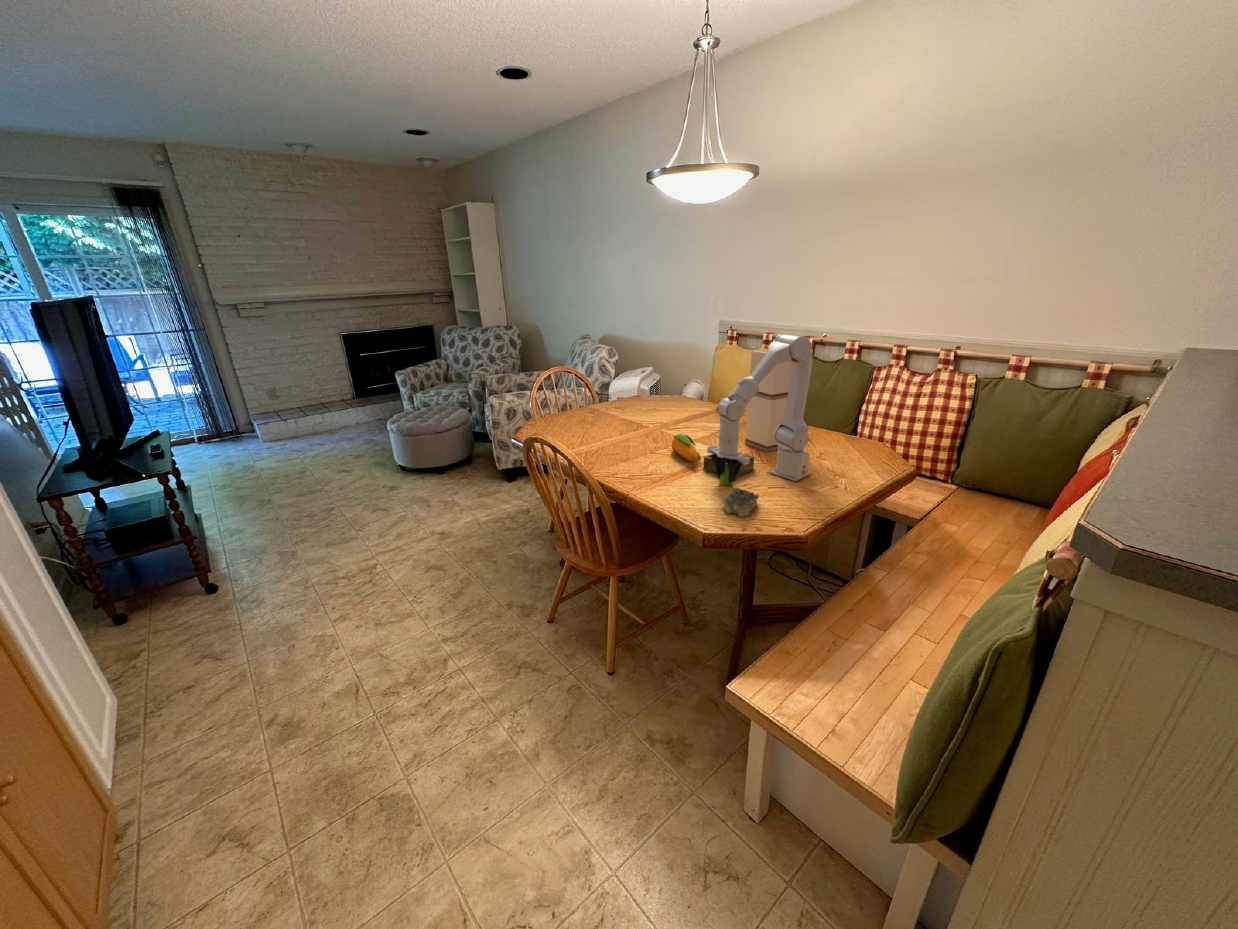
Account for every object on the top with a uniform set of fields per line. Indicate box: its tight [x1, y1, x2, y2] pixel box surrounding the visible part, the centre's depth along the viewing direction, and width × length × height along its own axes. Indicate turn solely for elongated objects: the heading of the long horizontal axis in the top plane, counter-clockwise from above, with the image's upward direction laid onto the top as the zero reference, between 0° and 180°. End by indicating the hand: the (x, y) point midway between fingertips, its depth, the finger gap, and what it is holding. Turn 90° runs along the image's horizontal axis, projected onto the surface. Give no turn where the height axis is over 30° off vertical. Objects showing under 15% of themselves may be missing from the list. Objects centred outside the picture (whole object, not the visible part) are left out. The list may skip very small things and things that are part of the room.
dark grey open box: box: [703, 452, 755, 478], centre depth 158 cm, size 12×12×5 cm
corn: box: [671, 433, 702, 462], centre depth 169 cm, size 7×8×20 cm
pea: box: [719, 472, 731, 486], centre depth 147 cm, size 4×4×4 cm
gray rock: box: [722, 487, 760, 517], centre depth 132 cm, size 11×8×4 cm
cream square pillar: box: [744, 350, 792, 453], centre depth 175 cm, size 11×11×35 cm
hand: (726, 479), depth 148 cm, fingers closed on pea, 4 cm apart
